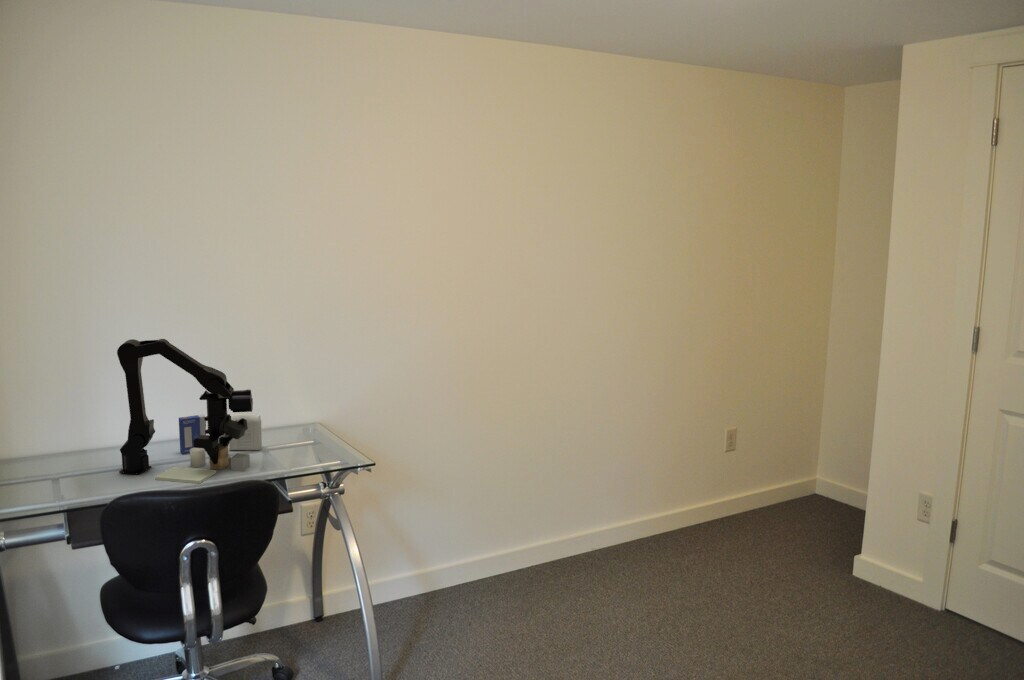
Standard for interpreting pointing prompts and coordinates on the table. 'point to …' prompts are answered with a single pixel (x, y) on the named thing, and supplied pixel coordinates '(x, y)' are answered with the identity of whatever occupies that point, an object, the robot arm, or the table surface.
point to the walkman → (190, 431)
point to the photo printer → (248, 433)
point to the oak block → (221, 458)
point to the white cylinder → (197, 457)
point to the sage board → (185, 475)
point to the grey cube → (240, 462)
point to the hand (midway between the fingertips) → (219, 461)
